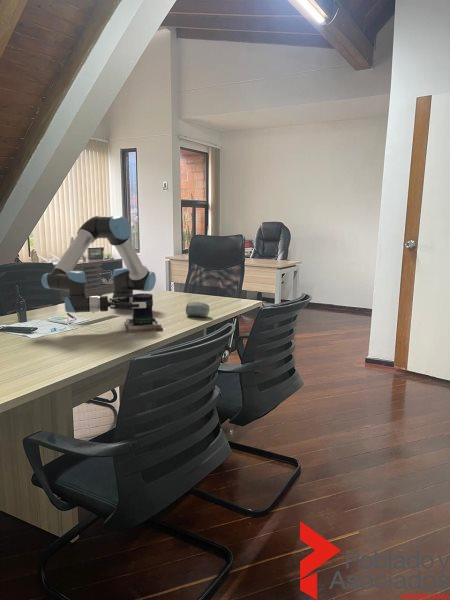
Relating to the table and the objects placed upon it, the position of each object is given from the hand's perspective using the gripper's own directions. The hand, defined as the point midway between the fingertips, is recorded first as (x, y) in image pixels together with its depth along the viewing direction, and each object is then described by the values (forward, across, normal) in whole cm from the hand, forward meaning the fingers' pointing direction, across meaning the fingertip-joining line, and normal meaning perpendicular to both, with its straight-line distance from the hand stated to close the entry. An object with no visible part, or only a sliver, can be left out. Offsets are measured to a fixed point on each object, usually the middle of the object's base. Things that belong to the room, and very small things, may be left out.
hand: (144, 302), depth 210 cm
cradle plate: (-1, 0, -13) cm, 13 cm away
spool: (+31, -18, -13) cm, 38 cm away
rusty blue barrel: (-1, 0, -12) cm, 12 cm away
